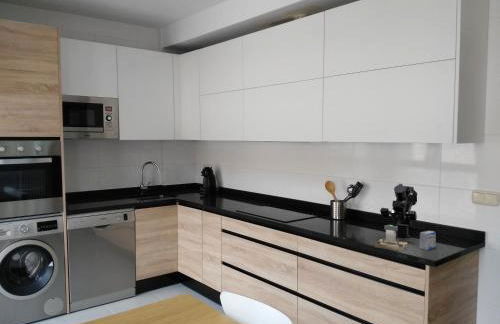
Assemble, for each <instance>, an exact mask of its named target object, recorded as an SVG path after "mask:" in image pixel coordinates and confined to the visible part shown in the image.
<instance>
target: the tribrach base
mask: <svg viewBox="0 0 500 324" xmlns="http://www.w3.org/2000/svg"><path fill="white" fill-rule="evenodd" d="M385 238H386V236H382V238H380V239H379V240H376V241H375V243H374V248H380V249H386V250H392V251H400V252H404V251H405V250H406V249H407V248H408V246H409V243H408V242H406V241H401V240H400V238H397V239H396V240H397V242H387V241H385Z"/></svg>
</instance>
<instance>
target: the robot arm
mask: <svg viewBox="0 0 500 324" xmlns="http://www.w3.org/2000/svg"><path fill="white" fill-rule="evenodd" d="M393 191H394V196H395V198H396V200H392V203H391V204H392V205H391V207H392V209H391V210H389V208H387V207H381V208H380V209H379V212H380V216H381V217H382V218H387V219H388V218H389V217H390V218H391V219H392V220H393V224H394V225H393V226H398V229H397V231H396V238H397V237H398V238H403V239H405V238H410V237H411V235H410V234H409V228H412V227H413V225H412V221H414V222H416V221H417V219H418V215H417V211H416V210H412V207H413V206H416V205H417V203H418V202H417V195H418V192H417V191H416V190H415V188H414V186H409V185H404V184H403V183H398V185H396V186H394V187H393Z"/></svg>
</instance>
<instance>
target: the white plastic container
mask: <svg viewBox="0 0 500 324" xmlns="http://www.w3.org/2000/svg"><path fill="white" fill-rule="evenodd" d="M397 229H398V226H394V225H393V224H386V225H384V230H385V241H387V242H397V239H396V238H397V236H396V235H397Z"/></svg>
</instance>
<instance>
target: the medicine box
mask: <svg viewBox="0 0 500 324" xmlns="http://www.w3.org/2000/svg"><path fill="white" fill-rule="evenodd" d="M436 233H437V232H436V231H433V230H427V231H426V230H425V231H421V232H419V249H422V250H425V251H430V250H433V249H436V239H437V238H436V235H437V234H436Z"/></svg>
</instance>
